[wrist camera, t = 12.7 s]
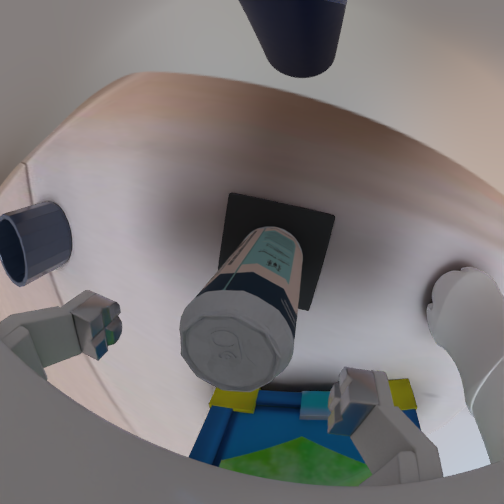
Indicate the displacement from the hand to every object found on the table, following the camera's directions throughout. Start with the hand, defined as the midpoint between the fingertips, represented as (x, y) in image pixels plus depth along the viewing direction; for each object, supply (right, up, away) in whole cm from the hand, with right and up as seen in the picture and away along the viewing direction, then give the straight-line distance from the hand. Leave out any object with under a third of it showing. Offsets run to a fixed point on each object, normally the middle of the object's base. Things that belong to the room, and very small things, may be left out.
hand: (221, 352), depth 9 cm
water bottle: (+19, 0, +11) cm, 22 cm away
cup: (-23, +6, +18) cm, 30 cm away
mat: (+3, +3, +13) cm, 13 cm away
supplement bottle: (+3, +3, +12) cm, 13 cm away
